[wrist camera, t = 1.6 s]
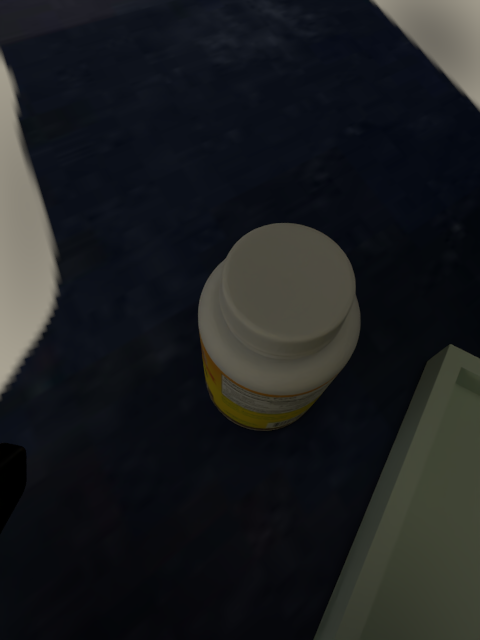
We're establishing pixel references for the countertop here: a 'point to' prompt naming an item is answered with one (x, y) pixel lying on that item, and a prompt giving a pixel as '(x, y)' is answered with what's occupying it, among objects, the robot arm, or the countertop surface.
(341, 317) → the supplement bottle
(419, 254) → the countertop surface
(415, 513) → the tray
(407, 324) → the countertop surface
